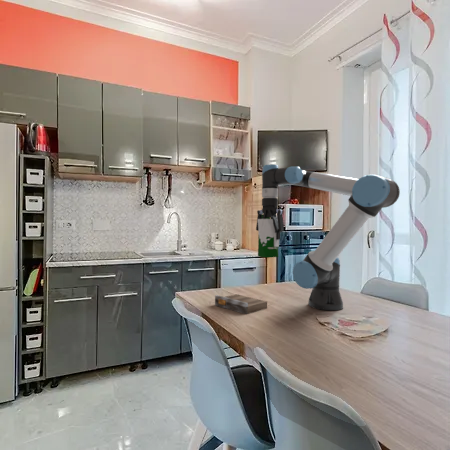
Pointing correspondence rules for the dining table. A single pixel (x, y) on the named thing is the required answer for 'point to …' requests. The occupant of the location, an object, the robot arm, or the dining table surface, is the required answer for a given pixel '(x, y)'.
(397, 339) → the dining table surface
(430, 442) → the dining table surface
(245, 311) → the brown flat box
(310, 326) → the dining table surface
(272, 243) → the soya milk
